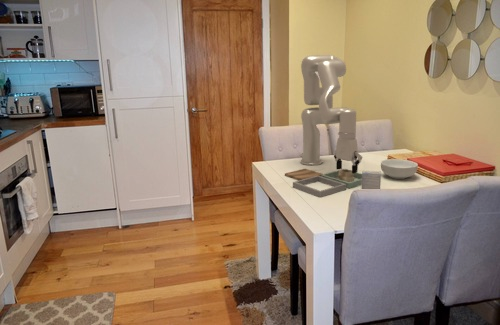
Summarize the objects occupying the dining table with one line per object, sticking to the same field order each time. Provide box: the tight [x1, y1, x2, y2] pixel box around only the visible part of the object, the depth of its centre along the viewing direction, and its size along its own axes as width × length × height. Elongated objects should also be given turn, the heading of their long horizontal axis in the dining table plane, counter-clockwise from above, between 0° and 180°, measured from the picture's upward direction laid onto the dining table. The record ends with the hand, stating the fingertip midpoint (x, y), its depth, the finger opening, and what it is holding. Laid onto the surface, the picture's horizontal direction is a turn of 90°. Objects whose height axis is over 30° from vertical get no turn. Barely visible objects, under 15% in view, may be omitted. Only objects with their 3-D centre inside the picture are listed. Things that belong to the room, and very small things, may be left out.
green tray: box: [321, 168, 362, 189], centre depth 180 cm, size 18×16×2 cm
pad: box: [284, 168, 323, 181], centre depth 190 cm, size 14×14×1 cm
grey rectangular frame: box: [292, 176, 347, 198], centre depth 170 cm, size 18×16×2 cm
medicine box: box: [361, 170, 382, 190], centre depth 164 cm, size 8×4×9 cm, turn 71°
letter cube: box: [338, 168, 355, 182], centre depth 180 cm, size 5×5×5 cm
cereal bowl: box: [380, 158, 419, 180], centre depth 182 cm, size 17×17×7 cm
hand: (346, 170), depth 179 cm, fingers open, 9 cm apart
